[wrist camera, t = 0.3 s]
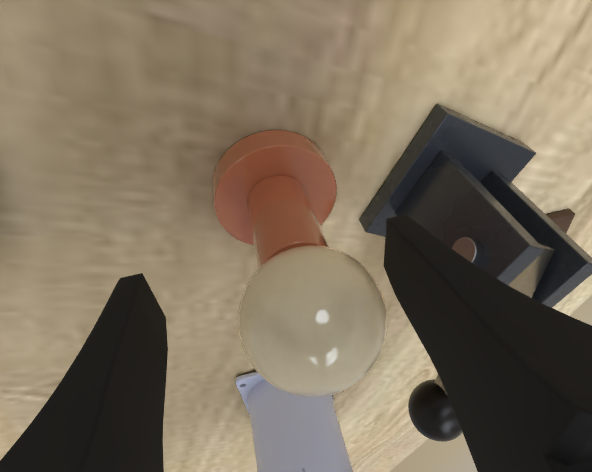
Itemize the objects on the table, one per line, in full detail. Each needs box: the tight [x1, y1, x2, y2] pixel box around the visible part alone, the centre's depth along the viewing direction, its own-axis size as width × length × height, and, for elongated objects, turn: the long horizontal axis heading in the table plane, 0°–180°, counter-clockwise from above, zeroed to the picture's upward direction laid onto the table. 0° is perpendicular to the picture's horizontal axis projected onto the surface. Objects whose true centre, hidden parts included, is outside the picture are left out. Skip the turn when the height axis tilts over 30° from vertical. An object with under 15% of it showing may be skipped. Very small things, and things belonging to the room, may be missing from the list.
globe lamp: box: [212, 130, 387, 398], centre depth 18 cm, size 6×6×12 cm
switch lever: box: [408, 243, 555, 441], centre depth 21 cm, size 11×3×3 cm, turn 154°
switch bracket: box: [360, 104, 592, 308], centre depth 22 cm, size 8×7×9 cm
